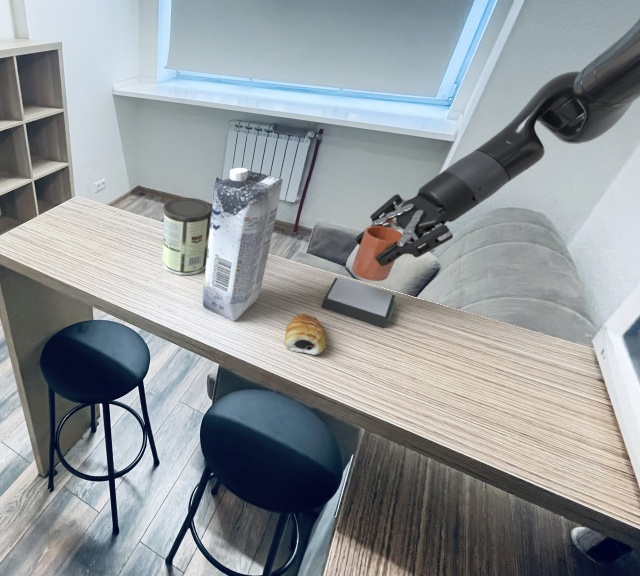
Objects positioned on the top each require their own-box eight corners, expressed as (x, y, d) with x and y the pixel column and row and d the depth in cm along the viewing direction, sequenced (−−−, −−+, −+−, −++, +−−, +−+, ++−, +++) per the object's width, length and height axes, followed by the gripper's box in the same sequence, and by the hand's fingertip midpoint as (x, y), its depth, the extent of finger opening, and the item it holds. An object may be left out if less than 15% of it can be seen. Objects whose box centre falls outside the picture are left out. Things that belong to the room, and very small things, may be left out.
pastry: (286, 318, 77) (291, 302, 75) (324, 326, 75) (330, 310, 73) (281, 350, 70) (286, 333, 68) (323, 360, 68) (330, 344, 66)
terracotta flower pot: (393, 273, 75) (410, 234, 71) (378, 285, 72) (394, 245, 68) (361, 260, 79) (375, 222, 74) (345, 271, 76) (358, 232, 72)
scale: (393, 304, 80) (398, 293, 79) (385, 329, 74) (391, 317, 73) (332, 286, 86) (336, 274, 84) (321, 307, 80) (324, 296, 78)
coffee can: (179, 248, 100) (183, 193, 92) (214, 262, 94) (222, 205, 86) (152, 264, 94) (153, 207, 86) (188, 281, 88) (193, 222, 80)
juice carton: (262, 301, 82) (290, 169, 66) (235, 327, 75) (260, 188, 60) (223, 285, 87) (242, 158, 71) (195, 308, 80) (208, 174, 65)
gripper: (423, 157, 71) (338, 222, 77) (488, 188, 59) (380, 261, 66) (440, 185, 74) (357, 245, 81) (504, 220, 62) (400, 286, 69)
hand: (368, 252), depth 73 cm, fingers closed on terracotta flower pot, 6 cm apart
